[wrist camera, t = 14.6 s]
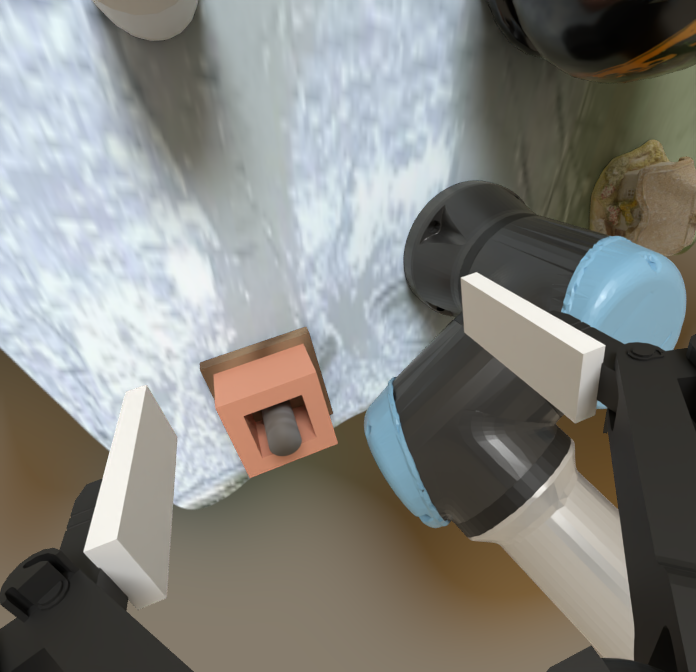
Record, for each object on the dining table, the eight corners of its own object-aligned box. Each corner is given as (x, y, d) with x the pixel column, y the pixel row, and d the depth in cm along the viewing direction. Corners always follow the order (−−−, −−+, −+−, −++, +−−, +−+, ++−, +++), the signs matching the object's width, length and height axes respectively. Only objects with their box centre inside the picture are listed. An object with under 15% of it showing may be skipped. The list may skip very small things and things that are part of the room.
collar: (303, 343, 45) (316, 372, 40) (324, 410, 51) (338, 443, 46) (213, 374, 44) (215, 408, 39) (244, 440, 49) (249, 478, 44)
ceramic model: (596, 151, 48) (681, 158, 39) (672, 134, 50) (769, 137, 41) (578, 265, 55) (647, 292, 46) (646, 246, 57) (724, 269, 49)
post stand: (306, 326, 46) (329, 373, 38) (330, 406, 53) (355, 461, 44) (199, 362, 44) (200, 420, 36) (237, 441, 51) (245, 506, 42)
